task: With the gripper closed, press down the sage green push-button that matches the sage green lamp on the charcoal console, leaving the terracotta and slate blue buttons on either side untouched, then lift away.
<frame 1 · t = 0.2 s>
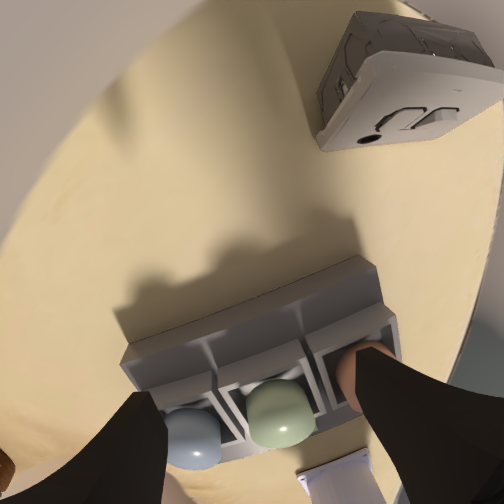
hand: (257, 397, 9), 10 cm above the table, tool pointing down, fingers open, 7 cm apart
sage button: (279, 414, 15), point 6 cm above the table, slide at 0.0 cm
slate button: (191, 440, 16), point 6 cm above the table, slide at 0.0 cm
electrical switch: (368, 105, 17), on the table
terracotta button: (370, 376, 15), point 5 cm above the table, slide at 0.0 cm
console: (270, 371, 21), on the table
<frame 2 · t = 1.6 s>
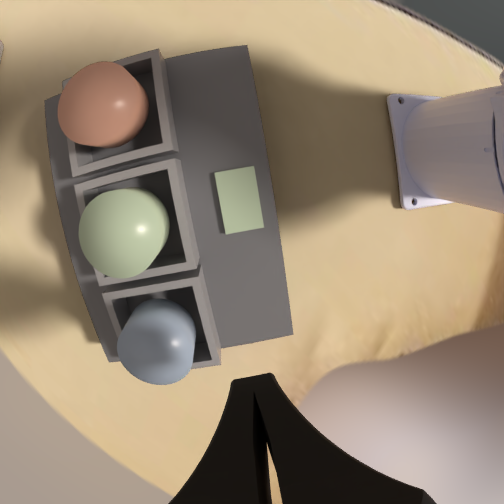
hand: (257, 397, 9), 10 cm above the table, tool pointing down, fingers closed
sage button: (125, 229, 12), point 5 cm above the table, slide at 0.0 cm
slate button: (158, 341, 14), point 5 cm above the table, slide at 0.0 cm
terracotta button: (104, 107, 11), point 5 cm above the table, slide at 0.0 cm
console: (168, 209, 18), on the table
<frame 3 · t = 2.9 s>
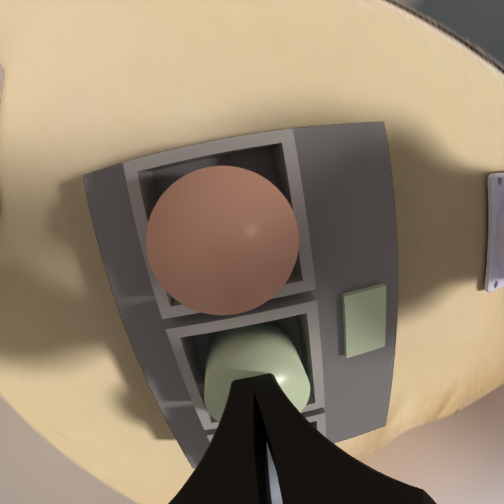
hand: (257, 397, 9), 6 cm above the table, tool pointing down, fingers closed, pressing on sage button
sage button: (254, 377, 11), point 5 cm above the table, slide at 0.9 cm, touching gripper
slate button: (277, 473, 11), point 5 cm above the table, slide at 0.0 cm
terracotta button: (222, 234, 8), point 5 cm above the table, slide at 0.0 cm
console: (264, 317, 15), on the table
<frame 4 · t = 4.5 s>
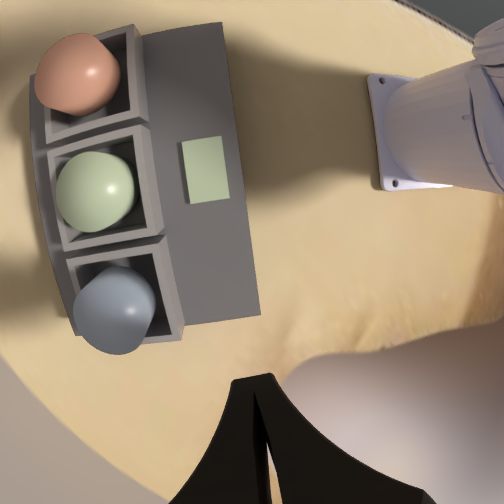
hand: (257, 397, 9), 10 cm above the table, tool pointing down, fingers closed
sage button: (98, 190, 13), point 4 cm above the table, slide at 1.2 cm
slate button: (115, 309, 13), point 6 cm above the table, slide at 0.0 cm
terracotta button: (78, 76, 10), point 6 cm above the table, slide at 0.0 cm
console: (139, 182, 17), on the table
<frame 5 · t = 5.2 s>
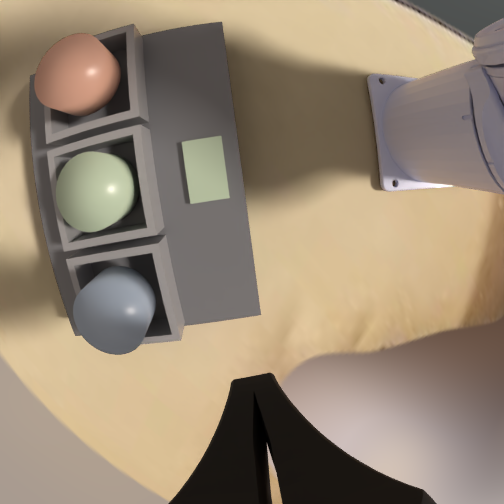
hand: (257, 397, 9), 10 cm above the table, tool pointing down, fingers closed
sage button: (98, 190, 13), point 4 cm above the table, slide at 1.2 cm
slate button: (115, 309, 13), point 5 cm above the table, slide at 0.0 cm
terracotta button: (78, 76, 10), point 5 cm above the table, slide at 0.0 cm
console: (139, 182, 17), on the table
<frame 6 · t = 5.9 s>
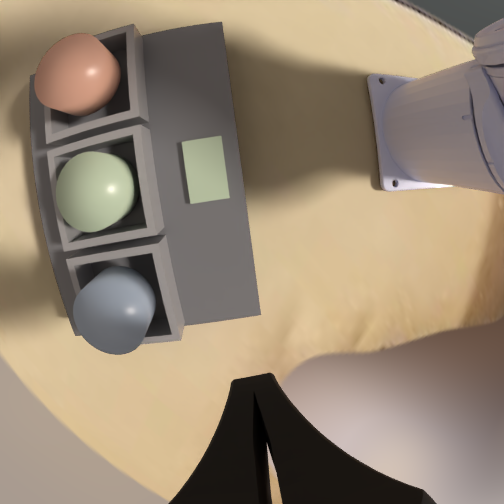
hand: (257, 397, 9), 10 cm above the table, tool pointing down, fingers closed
sage button: (98, 190, 13), point 4 cm above the table, slide at 1.2 cm
slate button: (115, 309, 13), point 5 cm above the table, slide at 0.0 cm
terracotta button: (78, 76, 10), point 5 cm above the table, slide at 0.0 cm
console: (139, 182, 17), on the table
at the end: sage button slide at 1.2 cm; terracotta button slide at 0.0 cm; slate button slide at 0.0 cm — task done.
